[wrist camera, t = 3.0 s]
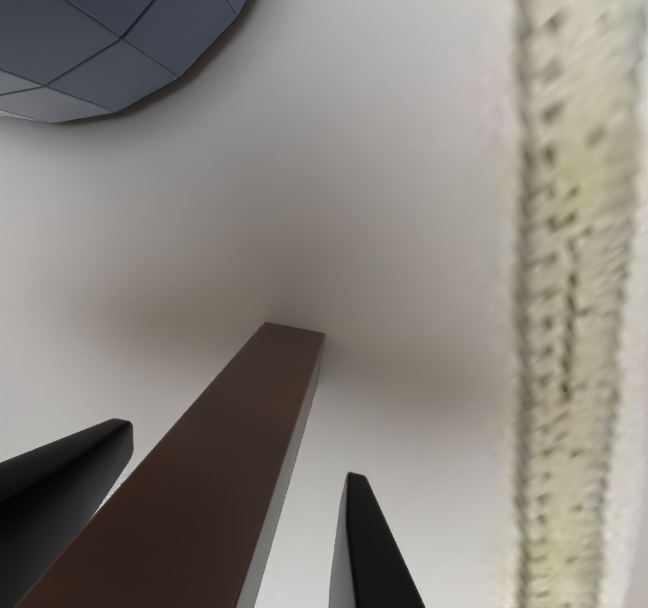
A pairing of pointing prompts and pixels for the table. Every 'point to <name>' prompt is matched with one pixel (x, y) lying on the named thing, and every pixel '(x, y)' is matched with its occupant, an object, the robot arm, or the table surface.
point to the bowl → (99, 52)
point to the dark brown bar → (199, 493)
